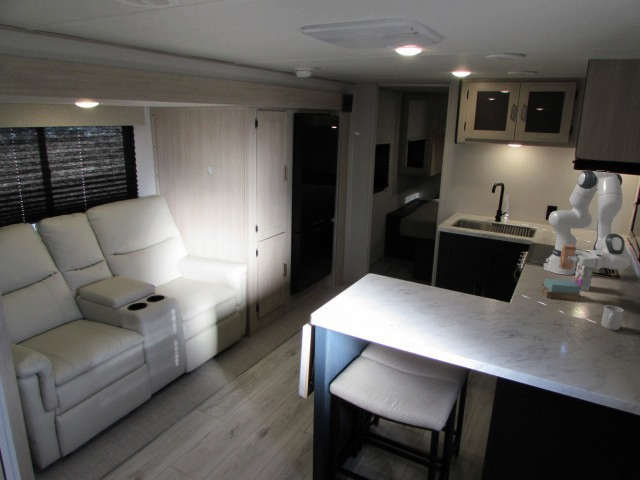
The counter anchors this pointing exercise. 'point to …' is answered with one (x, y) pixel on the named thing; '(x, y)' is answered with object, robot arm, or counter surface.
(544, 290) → the block
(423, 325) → the counter surface
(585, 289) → the candy bar box
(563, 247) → the terracotta block
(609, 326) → the cup
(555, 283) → the tower top
